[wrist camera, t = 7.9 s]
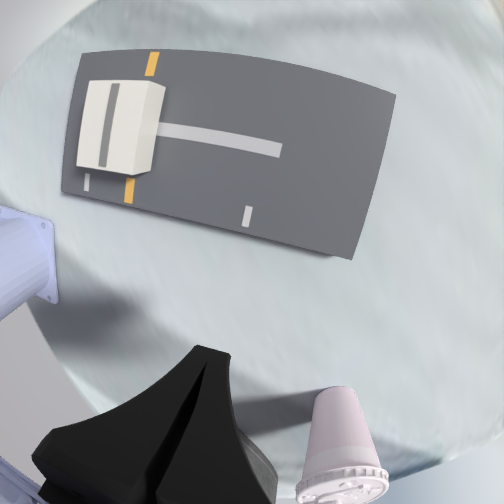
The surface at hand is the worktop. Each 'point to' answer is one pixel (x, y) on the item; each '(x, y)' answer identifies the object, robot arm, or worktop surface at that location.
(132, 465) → the robot arm
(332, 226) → the console
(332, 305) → the worktop surface
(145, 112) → the fader knob
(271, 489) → the flask
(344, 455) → the smoothie
